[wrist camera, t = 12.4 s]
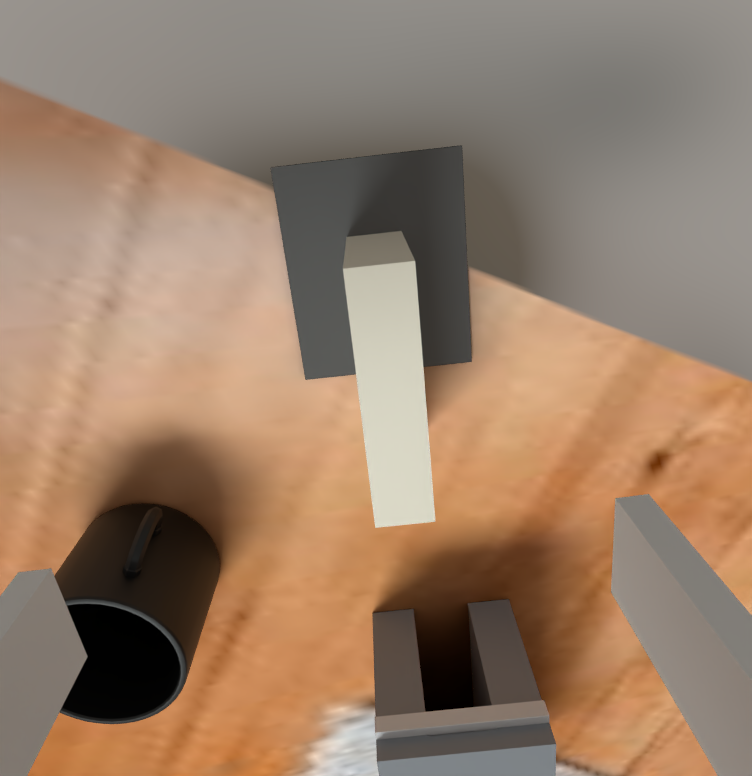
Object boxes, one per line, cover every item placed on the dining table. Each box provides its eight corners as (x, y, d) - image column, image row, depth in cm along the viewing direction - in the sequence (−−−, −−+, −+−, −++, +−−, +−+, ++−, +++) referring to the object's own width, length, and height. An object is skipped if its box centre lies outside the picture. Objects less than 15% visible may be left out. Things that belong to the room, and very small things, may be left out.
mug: (246, 492, 39) (216, 588, 31) (203, 624, 43) (166, 740, 35) (102, 450, 38) (29, 540, 29) (72, 591, 42) (1, 704, 34)
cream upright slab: (371, 445, 37) (374, 527, 29) (346, 237, 32) (342, 268, 24) (419, 440, 37) (435, 521, 29) (401, 230, 32) (415, 260, 24)
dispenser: (393, 759, 50) (402, 922, 39) (371, 606, 43) (375, 754, 33) (512, 747, 49) (552, 908, 39) (508, 592, 43) (556, 736, 33)
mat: (306, 376, 36) (305, 379, 35) (271, 167, 31) (270, 167, 31) (470, 358, 36) (471, 361, 35) (460, 145, 31) (461, 145, 31)
